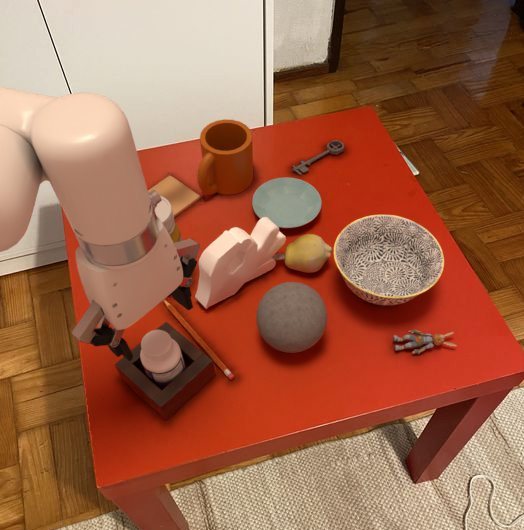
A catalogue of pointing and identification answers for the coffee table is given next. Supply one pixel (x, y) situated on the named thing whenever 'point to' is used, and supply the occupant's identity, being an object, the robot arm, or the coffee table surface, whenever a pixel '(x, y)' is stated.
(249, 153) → the mug
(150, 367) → the pill bottle
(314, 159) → the key
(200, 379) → the holder
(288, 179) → the saucer
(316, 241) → the fruit
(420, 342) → the figurine
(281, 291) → the decorative ball
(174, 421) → the coffee table surface
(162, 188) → the coaster
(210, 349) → the pencil
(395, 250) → the bowl
